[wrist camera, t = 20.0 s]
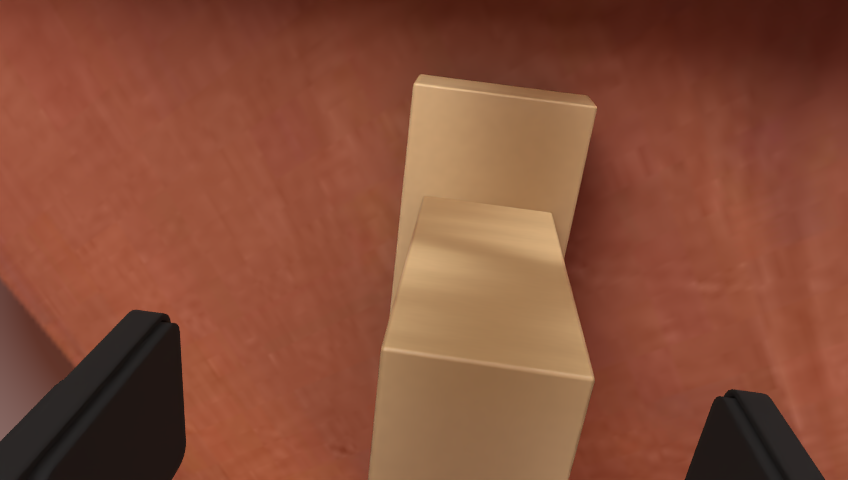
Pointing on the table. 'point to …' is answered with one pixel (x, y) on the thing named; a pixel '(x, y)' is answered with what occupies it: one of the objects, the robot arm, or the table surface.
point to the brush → (485, 289)
